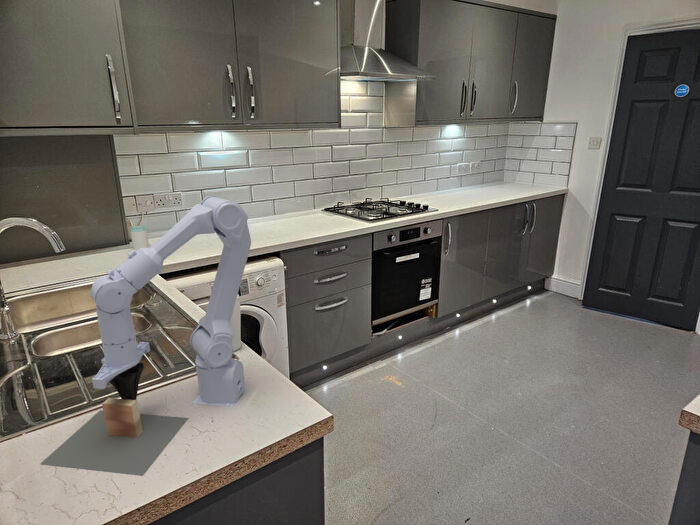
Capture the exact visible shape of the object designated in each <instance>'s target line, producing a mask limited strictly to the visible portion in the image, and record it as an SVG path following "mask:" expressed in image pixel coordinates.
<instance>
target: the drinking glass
mask: <svg viewBox="0 0 700 525" xmlns="http://www.w3.org/2000/svg"><path fill="white" fill-rule="evenodd" d="M240 299H241V298H240V294H238V295H237V299H236V302H235V306H234V310H233V313H232V317H231V321H230V322H231V327H232V331H233V338H232V346H233V353H234V352H236V351H238V350H239V349H241V348H242V337H241V333H242V332H241V322H242V321H241V313H242V311H241V300H240Z"/></svg>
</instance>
